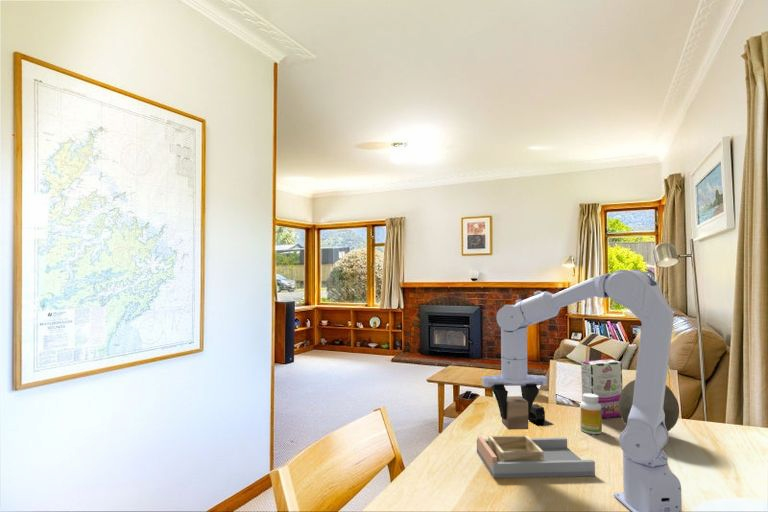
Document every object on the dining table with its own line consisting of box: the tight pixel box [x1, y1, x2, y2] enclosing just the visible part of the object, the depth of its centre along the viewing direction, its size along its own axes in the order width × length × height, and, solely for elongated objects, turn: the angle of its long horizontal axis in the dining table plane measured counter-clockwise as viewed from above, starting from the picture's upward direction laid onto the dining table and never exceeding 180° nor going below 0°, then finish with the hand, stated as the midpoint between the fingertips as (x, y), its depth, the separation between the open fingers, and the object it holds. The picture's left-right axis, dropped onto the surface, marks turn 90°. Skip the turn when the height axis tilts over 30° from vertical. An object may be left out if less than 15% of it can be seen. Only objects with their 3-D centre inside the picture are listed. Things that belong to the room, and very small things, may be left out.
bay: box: [476, 436, 596, 479], centre depth 100 cm, size 14×22×4 cm, turn 93°
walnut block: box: [501, 395, 529, 431], centre depth 100 cm, size 4×4×6 cm
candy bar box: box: [580, 358, 623, 420], centre depth 133 cm, size 11×5×16 cm, turn 105°
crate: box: [487, 435, 544, 462], centre depth 100 cm, size 9×9×3 cm
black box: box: [528, 403, 555, 427], centre depth 129 cm, size 12×7×5 cm, turn 16°
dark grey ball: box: [619, 379, 680, 432], centre depth 116 cm, size 14×14×15 cm
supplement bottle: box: [579, 393, 603, 435], centre depth 121 cm, size 5×5×10 cm
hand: (514, 417), depth 100 cm, fingers closed on walnut block, 4 cm apart
